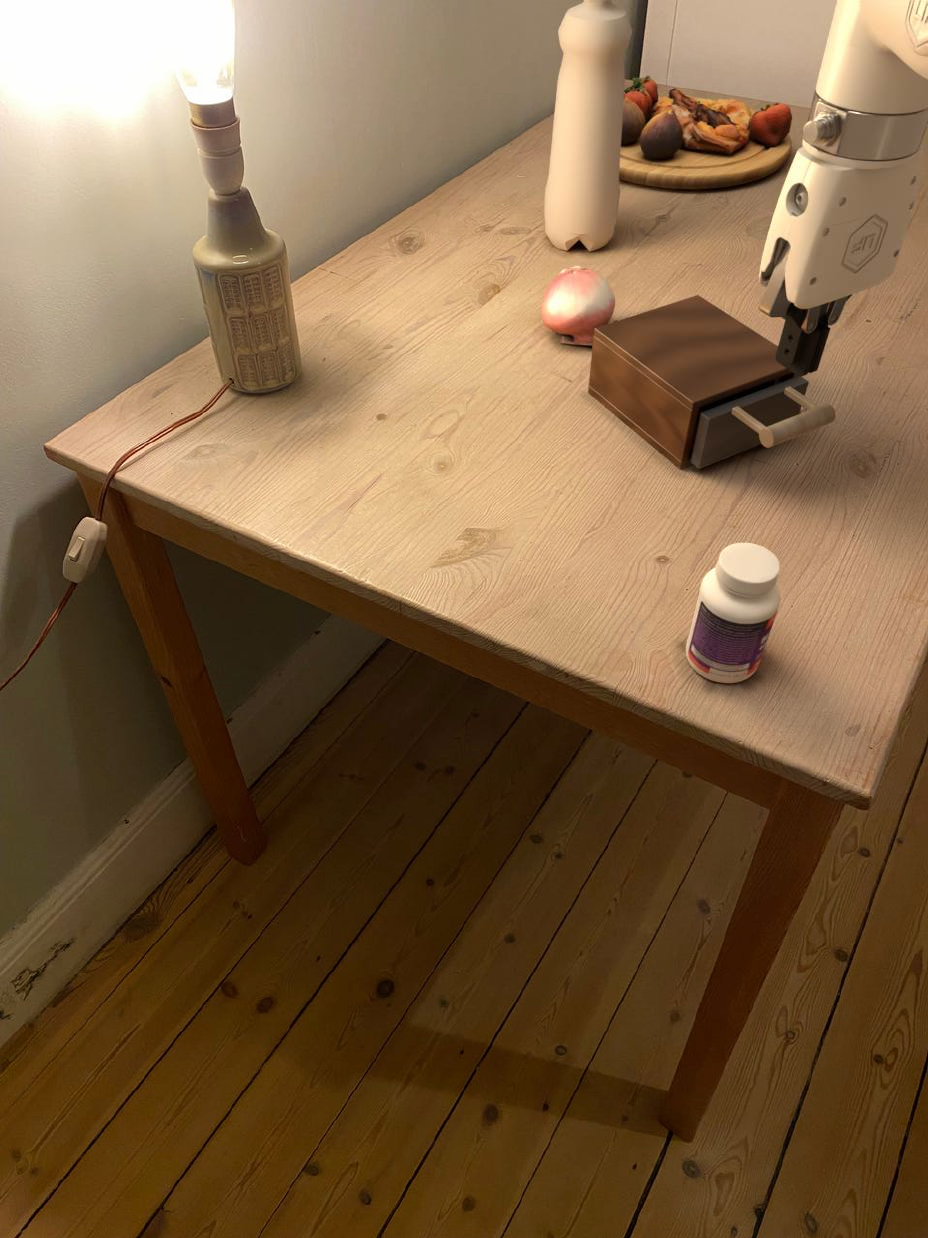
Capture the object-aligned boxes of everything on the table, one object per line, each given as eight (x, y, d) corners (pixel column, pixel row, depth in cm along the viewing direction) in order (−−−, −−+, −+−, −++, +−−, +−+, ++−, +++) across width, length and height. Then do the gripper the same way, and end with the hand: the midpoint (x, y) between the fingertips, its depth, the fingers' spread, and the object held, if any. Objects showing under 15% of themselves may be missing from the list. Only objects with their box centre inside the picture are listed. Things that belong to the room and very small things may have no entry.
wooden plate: (817, 135, 138) (833, 74, 132) (743, 212, 120) (757, 145, 114) (625, 99, 150) (631, 42, 144) (531, 164, 132) (533, 101, 126)
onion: (596, 312, 103) (602, 249, 97) (625, 346, 98) (633, 282, 92) (529, 324, 101) (532, 261, 96) (555, 359, 96) (560, 295, 91)
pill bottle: (765, 686, 66) (799, 590, 59) (690, 685, 66) (715, 590, 59) (750, 630, 69) (781, 534, 62) (679, 630, 70) (702, 534, 62)
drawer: (836, 460, 82) (857, 402, 78) (739, 502, 78) (755, 442, 74) (700, 364, 93) (711, 307, 89) (609, 396, 90) (616, 339, 85)
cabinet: (784, 427, 87) (803, 361, 82) (679, 469, 83) (693, 402, 78) (686, 357, 96) (698, 294, 91) (587, 392, 92) (594, 327, 87)
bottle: (614, 225, 118) (644, -60, 96) (615, 257, 112) (648, -39, 90) (543, 223, 119) (558, -60, 97) (541, 254, 112) (555, -40, 91)
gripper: (824, 167, 56) (757, 416, 70) (987, 121, 61) (895, 362, 75) (742, 129, 61) (694, 370, 74) (901, 89, 66) (829, 322, 79)
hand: (795, 365), depth 75 cm, fingers closed
